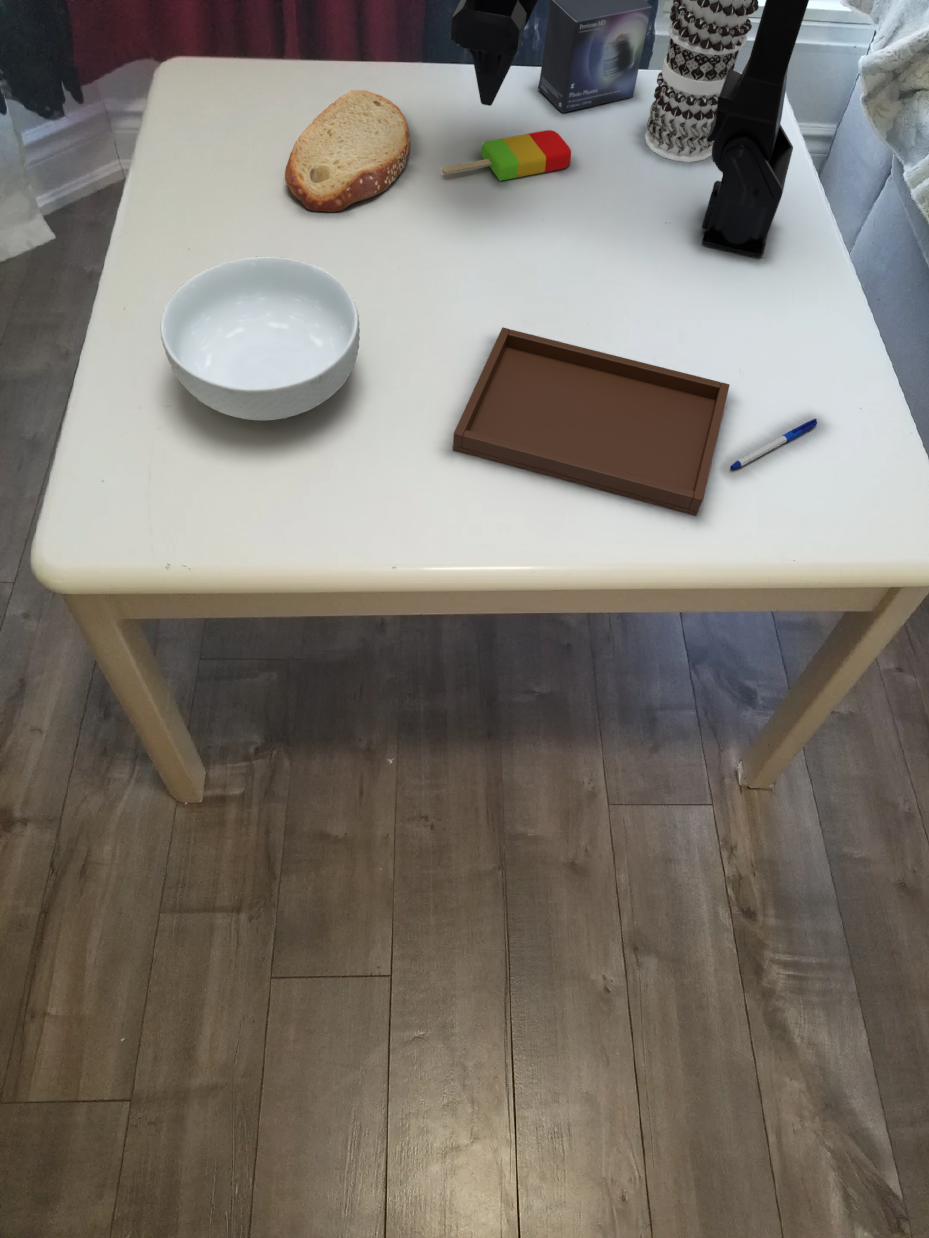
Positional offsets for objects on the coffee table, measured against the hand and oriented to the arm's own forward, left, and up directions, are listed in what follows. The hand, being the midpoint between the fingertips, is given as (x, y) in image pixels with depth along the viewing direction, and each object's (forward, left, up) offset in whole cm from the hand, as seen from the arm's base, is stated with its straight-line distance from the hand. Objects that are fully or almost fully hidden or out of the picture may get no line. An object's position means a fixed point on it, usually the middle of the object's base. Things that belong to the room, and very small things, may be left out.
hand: (495, 81), depth 94 cm
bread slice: (+16, +2, -11) cm, 19 cm away
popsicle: (-1, -3, -11) cm, 11 cm away
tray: (-20, +33, -10) cm, 40 cm away
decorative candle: (-19, -16, -11) cm, 27 cm away
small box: (-6, -22, -11) cm, 25 cm away
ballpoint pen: (-36, +30, -11) cm, 48 cm away
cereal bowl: (+9, +38, -11) cm, 41 cm away
